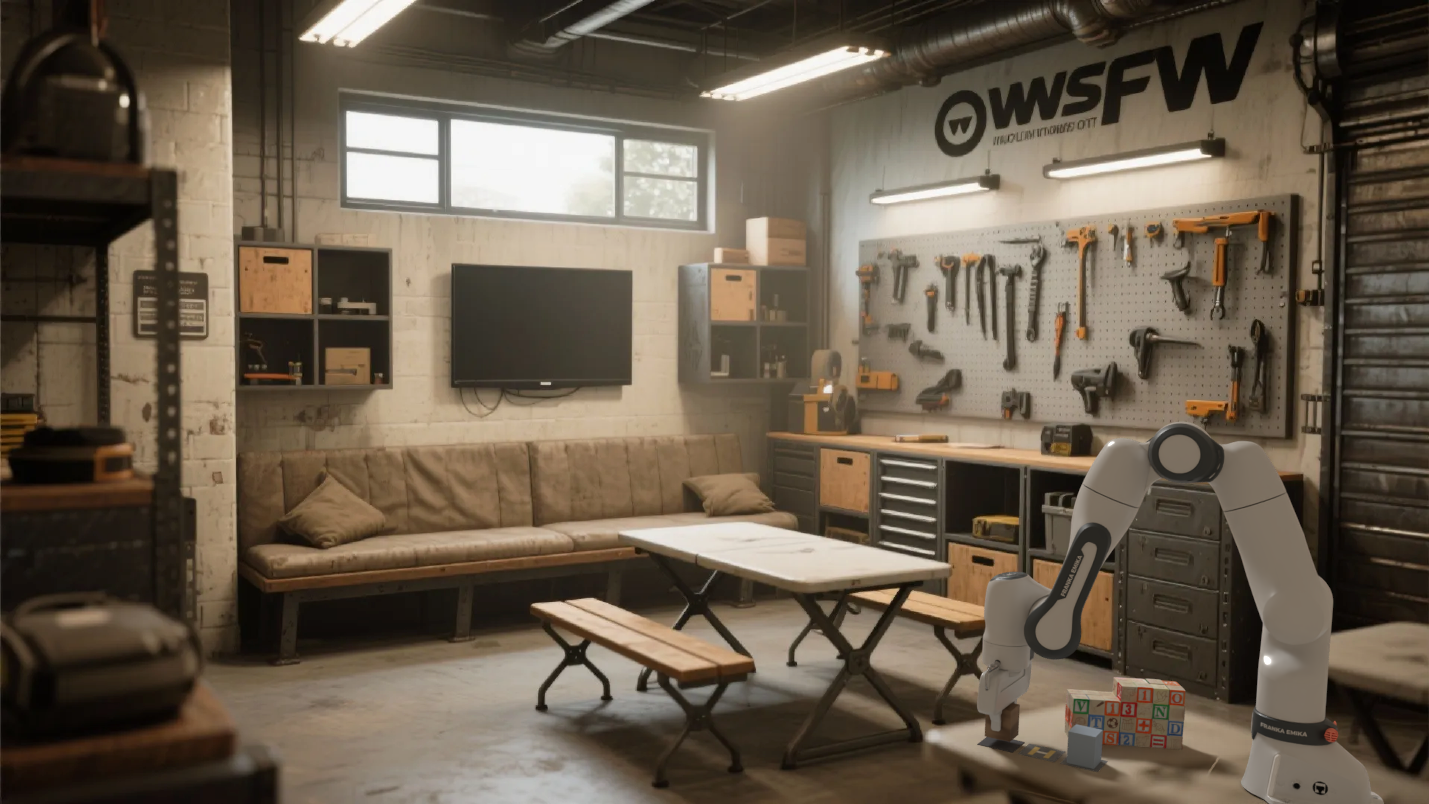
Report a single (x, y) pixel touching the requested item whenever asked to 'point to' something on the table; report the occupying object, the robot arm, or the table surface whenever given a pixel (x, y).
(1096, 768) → the code tile
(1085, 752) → the slate-blue block
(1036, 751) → the code tile
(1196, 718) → the table surface
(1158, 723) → the stack of blocks
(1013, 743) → the rubber mat
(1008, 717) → the walnut block
